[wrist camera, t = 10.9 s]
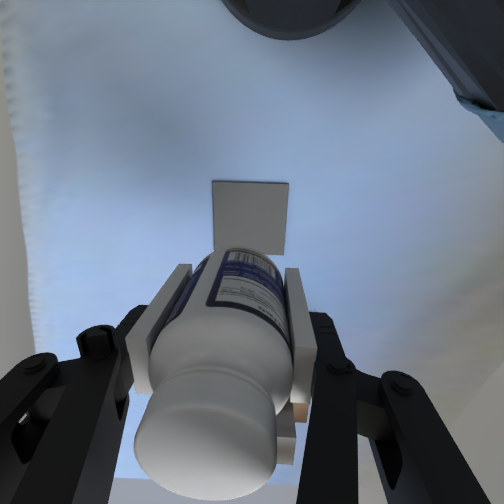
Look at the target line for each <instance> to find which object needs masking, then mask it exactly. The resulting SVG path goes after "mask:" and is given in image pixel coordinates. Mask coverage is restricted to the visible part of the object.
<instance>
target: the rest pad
mask: <svg viewBox="0 0 504 504" xmlns="http://www.w3.org/2000/svg"><path fill="white" fill-rule="evenodd" d="M288 191H289V184H278V183H247V182H216V181H213V205H214V242H215V251H216V250H218V249H221V248H224V247H229V246H244V247H249V248H252V249H255V250H257V251H259V252H261V253H263V254H266V255H284V246H285V232H286V218H287V205H288Z"/></svg>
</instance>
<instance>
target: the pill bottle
mask: <svg viewBox="0 0 504 504" xmlns="http://www.w3.org/2000/svg"><path fill="white" fill-rule="evenodd" d="M148 375H149V382H150V385H151V388H152V391H153V394H152V396H151V398H150V400H149V402H148V405H147V408H146V410H145V413H144V415H143V417H142V420H141V422H140V424H139V427H138V429H137V432H136V435H135V439H134V453H135V457H136V459H137V462H138V464H139V466H140V467H141V469H142V470H143V471H144V472H145V473H146V474H147V475H148V476H149V477H150V478H151V479H152V480H153V481H154V482H156V483H158V484H159V485H160V486H162V487H163V488H166V489H168V490H169V491H171V492H174V493H176V494H179V495H182V496H185V497H189V498H194V499H200V500H228V499H235V498H238V497H241V496H245V495H247V494H250V493H252V492H254V491H256V490H257V489H259V488H260V487H261V486H263V485H264V484H265V483H266V482H267V481H268V480H269V478H270V477H271V476H272V474H273V472H274V470H275V467H276V462H277V421H276V415H277V414H278V413H279V412H280V411H281V409H282V408H283V407H284V405H285V404H286V402H287V400H288V398H289V395H290V393H291V389H292V385H293V363H292V353H291V345H290V336H289V327H288V319H287V311H286V302H285V293H284V286H283V281H282V277H281V274H280V272H279V270H278V268H277V267H276V265H275V264H274V263H273V262H272V261H271V260H270V259H269V258H268V257H267V256H266V255H264V254H263V253H261V252H259V251H257V250H255V249H252V248H249V247H244V246H229V247H224V248H221V249H218V250H216V251H214V252H212V253H211V254H209V255H208V256H207V257H205V258H204V259H203V260H202V261H201V263H200V264H199V265H198V266H197V268H196V269H195V271H194V273H193V275H192V276H191V278H190V280H189V282H188V284H187V286H186V287H185V289H184V291H183V293H182V295H181V296H180V298H179V300H178V302H177V304H176V305H175V307H174V309H173V311H172V313H171V314H170V316H169V318H168V320H167V322H166V323H165V325H164V327H163V328H162V330H161V332H160V334H159V336H158V337H157V340H156V342H155V344H154V346H153V349H152V351H151V355H150V359H149V367H148Z"/></svg>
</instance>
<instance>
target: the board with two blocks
mask: <svg viewBox="0 0 504 504" xmlns="http://www.w3.org/2000/svg"><path fill="white" fill-rule="evenodd" d="M308 407H309V404H308V403H292V402H290V395H289V398H288V400H287V402H286V404H285V405H284V407H283V408H282V409H281V411H280V412H279V413H278V414H277V415H276V421H277V462H276V464H287V465H293V461H294V453H295V445H296V430H295V422H302V423H306V422H307V415H308Z"/></svg>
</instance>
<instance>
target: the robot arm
mask: <svg viewBox="0 0 504 504" xmlns="http://www.w3.org/2000/svg"><path fill="white" fill-rule="evenodd" d="M222 1H223V3H224V4H225V6H226V7H227V8H228V9H229V11H230V12H231V13H232V14H233V15H234V16H235V17H236V18H237V19H238V20H239V21H240V22H241V23H243V24H244V25H245V26H247V27H248V28H250V29H251V30H253V31H255V32H257V33H259V34H261V35H263V36H266V37H269V38H273V39H278V40H300V39H305V38H309V37H312V36H315V35H318V34H320V33H322V32H324V31H326V30H328V29H330V28H331V27H333V26H334V25H336V24H337V23H339V22H340V21H341V20H342V19H344V18H345V17H346V16H347V15H348V14H349V13H350V12H351V11H352V10H353V9H354V8H355V7H356V6H357V4H358V3H359V2H360V1H361V0H222ZM386 1H387V2H388V3H389V4H390V6H391V7H392V8H393V9H394V11H395V12H396V13H397V15H398V16H399V17H400V18H401V20H402V21H403V22H404V23H405V25H406V26H407V27H408V28H409V30H410V31H411V32H412V34H413V35H414V36H415V37H416V39H417V40H418V41H419V43H420V44H421V45H422V47H423V48H424V49H425V51H426V52H427V53H428V55H429V56H430V57H431V59H432V60H433V61H434V63H435V64H436V65H437V67H438V68H439V69H440V71H441V72H442V73H443V75H444V76H445V77H446V79H447V80H448V81H449V83H450V84H451V85H452V87H453V91H454V93H455V96H456V97H457V100H458V101H459V103H460V104H461V105H462V106H463V107H464V108H465V109H467V110H468V111H470V112H472V113H474V114H476V115H478V116H479V117H480V118H481V119H482V121H483V122H484V123H485V124H486V125H487V126H488V127H489V129H490V130H491V131H492V132H493V133H494V134H495V135H496V136H497V138H498V139H499V140H500V141H501V142H502V143H504V0H386ZM192 275H193V274H192V264H178V266H177V267H176V269H175V270H174V271H173V273H172V274H171V275H170V277H169V278H168V280H167V281H166V282H165V284H164V285H163V286H162V288H161V289H160V291H159V292H158V293H157V295H156V296H155V297H154V299H153V300H152V302H151V303H150V304H149V305H138V306H137V307H135V308H133V309H132V310H130V311H129V313H128V314H127V315H126V316H125V318H124V319H123V320H122V321H121V322H120V325H118V326H117V327H116V329H115V328H114V327H113V326H110V325H98V326H93V327H91V328H88V329H86V330H85V331H83V332H81V333H80V334H79V335H78V336H77V338H76V341H77V344H78V348H79V352H80V355H81V357H80V358H78V359H73V360H67V361H61V362H58V359H57V356H56V355H55V354H53V353H48V352H47V353H39V354H36V355H33V356H30V357H28V358H26V359H24V360H22V361H21V362H20V363H18V364H17V365H16V366H15V367H14V368H13V369H12V370H11V371H9V372H8V373H7V374H6V375H5V376H4V377H3V378H2V379H1V380H0V504H108V500H109V496H110V491H111V486H112V482H113V477H114V472H115V467H116V463H117V458H118V453H119V449H120V444H121V439H122V435H123V430H124V425H125V420H126V416H127V411H128V406H129V393H128V392H129V390H130V388H131V386H132V384H133V383H134V388H135V393H144V394H153V391H152V388H151V385H150V382H149V375H148V367H149V359H150V355H151V351H152V349H153V346H154V344H155V342H156V340H157V337H158V336H159V334H160V332H161V330H162V328H163V327H164V325H165V323H166V322H167V320H168V318H169V316H170V314H171V313H172V311H173V309H174V307H175V305H176V304H177V302H178V300H179V298H180V296H181V295H182V293H183V291H184V289H185V287H186V286H187V284H188V282H189V280H190V278H191V276H192ZM284 293H285V302H286V311H287V319H288V327H289V336H290V345H291V353H292V363H293V385H292V389H291V393H290V402H292V403H308V404H310V399H311V397H312V407H311V413H310V419H309V426H308V432H307V438H306V444H305V451H304V457H303V463H302V470H301V476H300V482H299V489H298V496H297V501H296V504H358V438H357V434H360V435H362V436H365V437H367V438H368V439H369V442H370V446H371V449H372V452H373V456H374V459H375V462H376V466H377V469H378V472H379V476H380V479H381V482H382V486H383V489H384V492H385V495H386V499H387V502H388V504H491V503H490V501H489V499H488V498H487V496H486V494H485V493H484V491H483V489H482V488H481V486H480V484H479V482H478V481H477V479H476V477H475V476H474V474H473V472H472V470H471V469H470V467H469V465H468V464H467V462H466V461H465V459H464V457H463V455H462V453H461V452H460V450H459V448H458V447H457V445H456V443H455V442H454V440H453V438H452V436H451V435H450V433H449V431H448V430H447V428H446V426H445V424H444V423H443V421H442V419H441V418H440V416H439V414H438V412H437V411H436V409H435V407H434V406H433V404H432V402H431V400H430V399H429V397H428V395H427V394H426V392H425V390H424V389H423V387H422V386H421V385H420V383H419V382H418V381H417V380H415V379H414V378H413V377H411V376H410V375H407V374H405V373H403V372H399V371H387V372H385V373H383V374H382V377H381V378H378V377H375V376H371V375H368V374H365V373H363V372H360V371H359V370H357V369H356V368H355V365H354V364H353V363H352V362H351V361H350V360H349V359H348V358H346V356H345V353H344V351H343V348H342V345H341V342H340V340H339V337H338V335H337V331H336V328H335V326H334V323H333V320H332V319H331V318H330V317H329V316H328V315H327V314H326V313H319V312H309V311H308V307H307V302H306V298H305V294H304V290H303V286H302V281H301V277H300V273H299V269H298V268H285V278H284ZM25 413H26V414H27V416H26V417H25V419H24V420H23V421H22V422H21V423H19V420H20V419H21V418H22V417H23V416H24V414H25Z"/></svg>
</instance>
